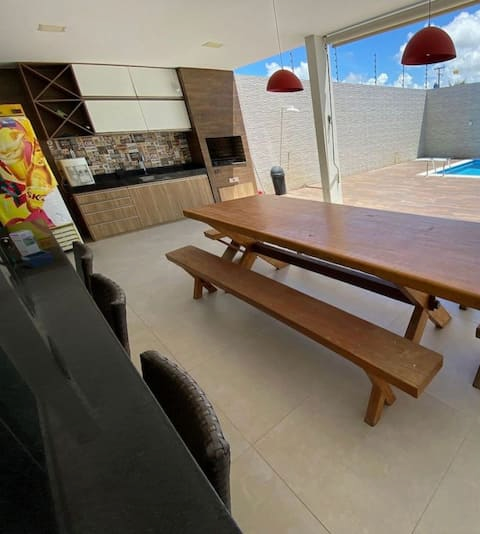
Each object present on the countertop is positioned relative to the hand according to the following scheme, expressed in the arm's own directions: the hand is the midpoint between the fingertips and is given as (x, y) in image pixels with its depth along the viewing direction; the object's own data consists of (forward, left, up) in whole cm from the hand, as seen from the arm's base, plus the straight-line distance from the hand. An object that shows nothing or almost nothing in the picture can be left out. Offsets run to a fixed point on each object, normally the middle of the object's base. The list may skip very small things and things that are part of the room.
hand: (7, 207), depth 147 cm
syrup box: (-1, -3, -26) cm, 27 cm away
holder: (-4, -16, -26) cm, 31 cm away
